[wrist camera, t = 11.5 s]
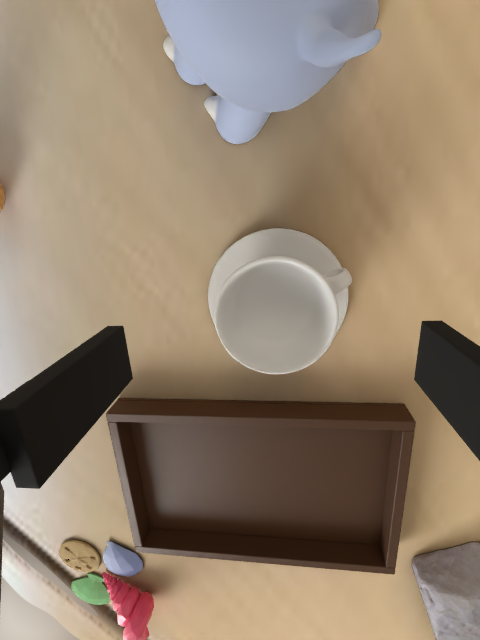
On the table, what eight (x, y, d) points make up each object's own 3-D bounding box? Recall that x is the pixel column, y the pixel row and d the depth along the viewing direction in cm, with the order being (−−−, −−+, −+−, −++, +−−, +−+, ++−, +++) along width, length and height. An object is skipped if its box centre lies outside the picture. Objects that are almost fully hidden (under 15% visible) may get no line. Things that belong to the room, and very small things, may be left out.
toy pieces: (168, 555, 34) (153, 603, 30) (155, 619, 38) (140, 669, 34) (60, 525, 34) (30, 568, 30) (58, 591, 38) (31, 637, 34)
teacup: (250, 379, 26) (243, 414, 22) (184, 271, 24) (162, 285, 19) (369, 326, 23) (390, 352, 19) (309, 199, 21) (316, 196, 17)
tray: (118, 397, 28) (105, 413, 26) (404, 403, 25) (416, 421, 23) (145, 530, 33) (135, 552, 31) (386, 548, 30) (394, 574, 28)
